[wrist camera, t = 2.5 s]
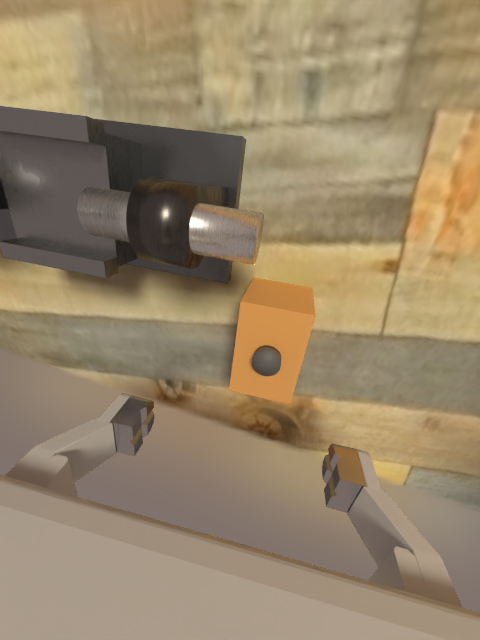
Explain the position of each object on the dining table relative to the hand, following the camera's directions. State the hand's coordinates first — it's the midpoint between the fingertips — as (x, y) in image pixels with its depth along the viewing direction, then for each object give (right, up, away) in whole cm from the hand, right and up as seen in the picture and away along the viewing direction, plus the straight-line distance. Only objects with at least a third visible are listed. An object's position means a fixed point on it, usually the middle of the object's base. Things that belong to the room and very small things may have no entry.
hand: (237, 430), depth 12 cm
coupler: (+3, +5, +9) cm, 11 cm away
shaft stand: (-10, +14, +7) cm, 19 cm away
